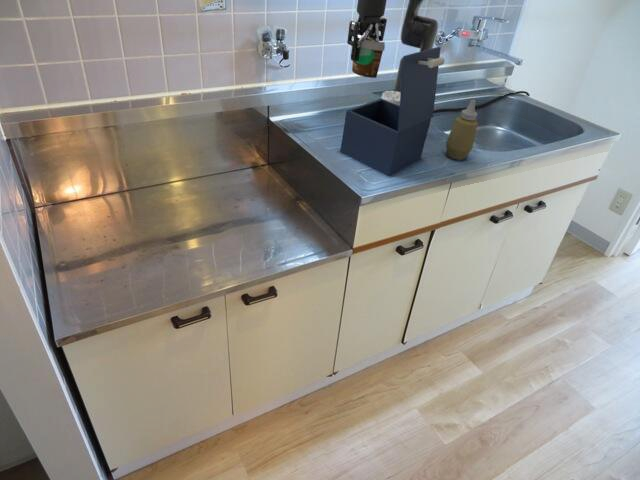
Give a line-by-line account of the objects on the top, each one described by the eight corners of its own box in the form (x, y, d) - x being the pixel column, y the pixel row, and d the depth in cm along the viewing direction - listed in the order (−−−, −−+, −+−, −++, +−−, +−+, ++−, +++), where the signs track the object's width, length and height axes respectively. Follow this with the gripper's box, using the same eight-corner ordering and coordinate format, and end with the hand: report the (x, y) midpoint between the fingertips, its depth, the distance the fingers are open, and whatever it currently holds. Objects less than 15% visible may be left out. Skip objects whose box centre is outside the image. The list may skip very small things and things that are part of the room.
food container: (340, 65, 140) (345, 30, 133) (358, 65, 142) (364, 30, 136) (359, 80, 131) (366, 42, 125) (378, 79, 133) (385, 42, 127)
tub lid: (403, 55, 115) (422, 58, 112) (438, 46, 125) (456, 48, 122) (397, 131, 124) (415, 135, 121) (430, 116, 135) (447, 120, 132)
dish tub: (340, 151, 141) (346, 110, 133) (373, 137, 152) (381, 98, 144) (388, 176, 132) (398, 133, 124) (420, 158, 143) (431, 118, 135)
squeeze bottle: (459, 149, 152) (476, 94, 141) (473, 161, 146) (493, 105, 135) (438, 150, 149) (454, 95, 138) (452, 163, 143) (470, 106, 132)
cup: (390, 123, 162) (397, 89, 155) (407, 134, 156) (415, 99, 149) (369, 127, 158) (376, 92, 151) (386, 138, 152) (393, 102, 145)
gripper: (367, 0, 118) (357, 66, 128) (399, -4, 127) (387, 59, 137) (345, -7, 121) (336, 58, 131) (377, -10, 130) (367, 51, 140)
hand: (362, 58), depth 134 cm, fingers closed on food container, 7 cm apart
